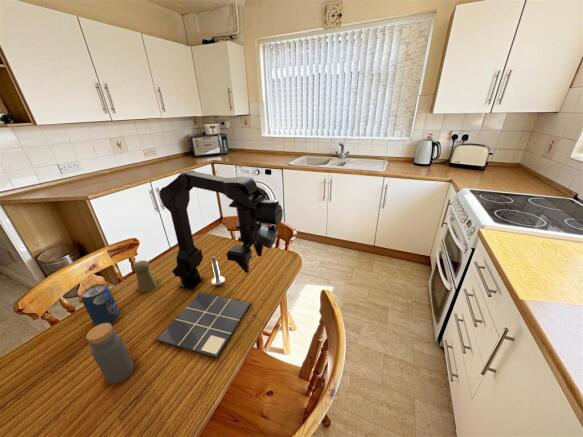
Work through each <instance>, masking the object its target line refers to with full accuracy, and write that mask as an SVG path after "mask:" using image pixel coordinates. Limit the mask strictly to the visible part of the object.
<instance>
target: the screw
mask: <svg viewBox="0 0 583 437" xmlns="http://www.w3.org/2000/svg"><path fill="white" fill-rule="evenodd" d="M211 263H212V264H211V265H212V271H213V275H214V277H213V279H211V284H212V285H213V286H215V287H216V288H220V287H222V286H223V284H224V283H225V282H226V278H225V277H224V276H221V275H220V269H219V265H218V261H217V258H216V256H214V255H213V256H211Z"/></svg>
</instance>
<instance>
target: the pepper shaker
mask: <svg viewBox="0 0 583 437" xmlns="http://www.w3.org/2000/svg"><path fill="white" fill-rule="evenodd" d="M132 270H133V273H135V274H136V280H137V286H138V290H139V292H141V293H148V292H150V291H151V292H152V290H154V289H155V288H157V286H158V283H157V281H156V279H155V276H154V275H153V274H152V272H151V270H150V263H149V262H148V261H147V260H145V259H144V260H143V259H142V260H138V261H136V262H134V263H133V265H132Z"/></svg>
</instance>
